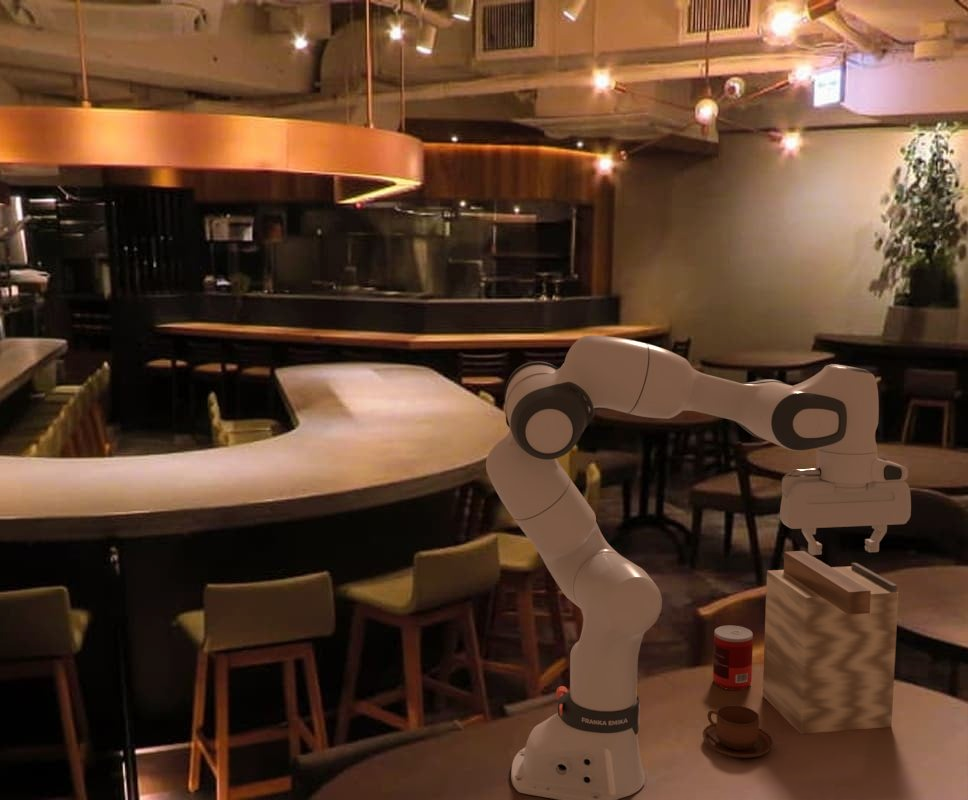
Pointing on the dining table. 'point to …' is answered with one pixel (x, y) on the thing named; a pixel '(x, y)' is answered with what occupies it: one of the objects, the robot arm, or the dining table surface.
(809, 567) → the walnut block
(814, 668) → the zigzag patterned box
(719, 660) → the canned food
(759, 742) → the cup and saucer
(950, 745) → the dining table surface
